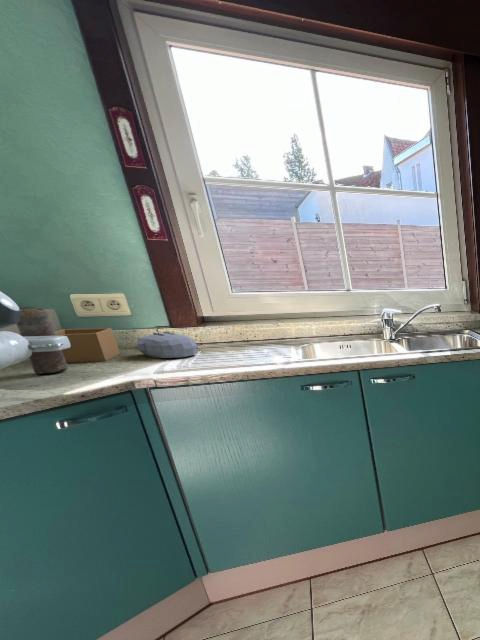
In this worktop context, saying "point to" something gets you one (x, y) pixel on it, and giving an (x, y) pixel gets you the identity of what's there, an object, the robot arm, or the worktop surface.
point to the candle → (40, 325)
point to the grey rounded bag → (167, 345)
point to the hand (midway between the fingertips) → (33, 339)
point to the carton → (89, 345)
